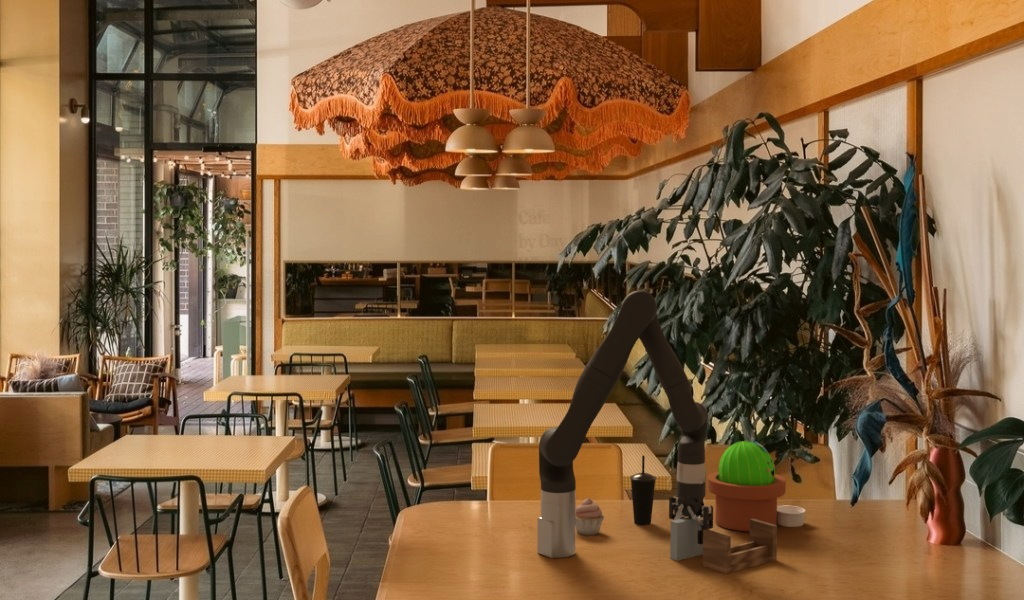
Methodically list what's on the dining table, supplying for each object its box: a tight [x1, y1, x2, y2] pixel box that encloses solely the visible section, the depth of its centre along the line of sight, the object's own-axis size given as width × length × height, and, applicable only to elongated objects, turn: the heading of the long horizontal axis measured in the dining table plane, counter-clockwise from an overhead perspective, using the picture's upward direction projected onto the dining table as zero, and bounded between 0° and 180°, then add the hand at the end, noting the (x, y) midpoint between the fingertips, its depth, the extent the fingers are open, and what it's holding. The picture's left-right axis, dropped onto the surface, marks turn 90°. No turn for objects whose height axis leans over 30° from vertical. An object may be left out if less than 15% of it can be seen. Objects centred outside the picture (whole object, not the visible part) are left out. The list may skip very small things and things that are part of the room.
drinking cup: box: [629, 455, 657, 526], centre depth 320 cm, size 8×8×20 cm
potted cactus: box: [707, 439, 787, 533], centre depth 319 cm, size 22×22×25 cm
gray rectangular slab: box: [669, 516, 711, 562], centre depth 289 cm, size 12×2×10 cm, turn 126°
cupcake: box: [575, 497, 606, 536], centre depth 310 cm, size 9×9×10 cm
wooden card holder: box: [702, 519, 778, 574], centre depth 283 cm, size 19×8×9 cm, turn 126°
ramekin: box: [776, 504, 806, 528], centre depth 321 cm, size 9×9×4 cm
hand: (690, 540), depth 289 cm, fingers open, 7 cm apart
